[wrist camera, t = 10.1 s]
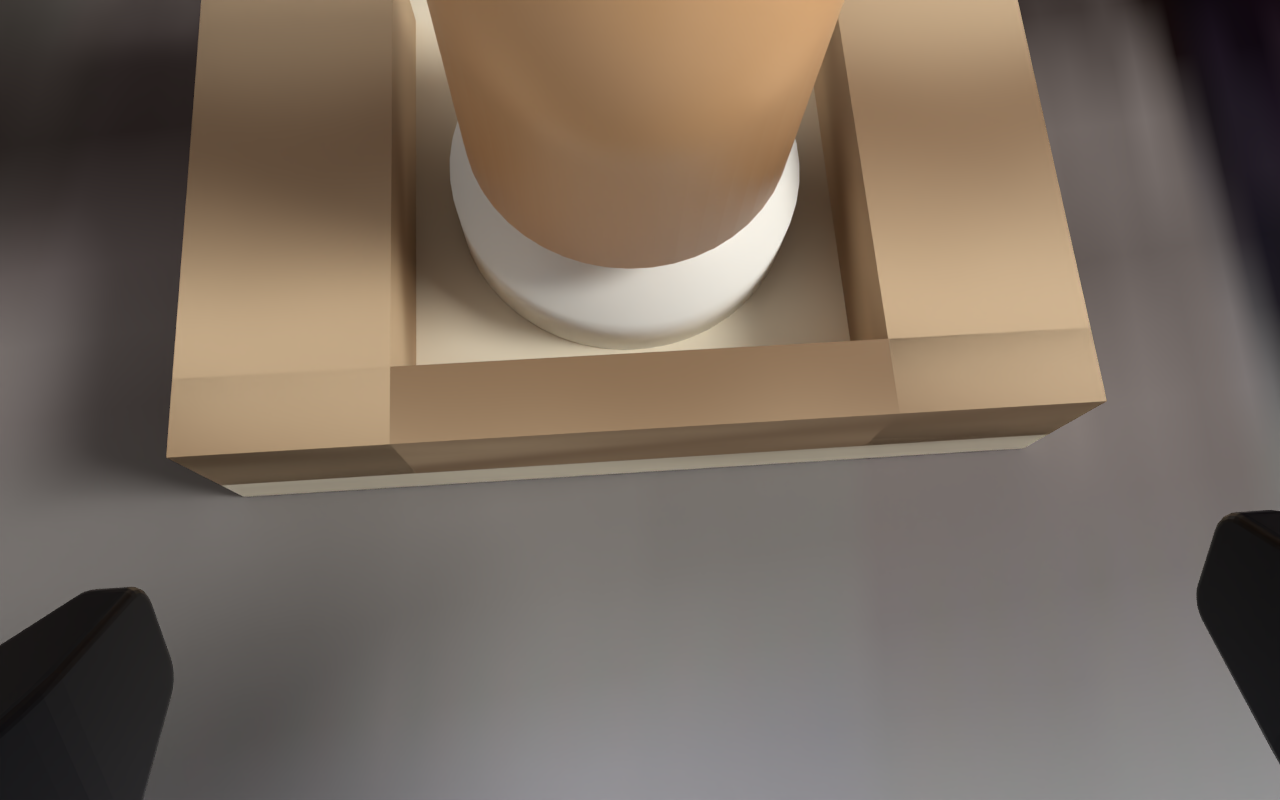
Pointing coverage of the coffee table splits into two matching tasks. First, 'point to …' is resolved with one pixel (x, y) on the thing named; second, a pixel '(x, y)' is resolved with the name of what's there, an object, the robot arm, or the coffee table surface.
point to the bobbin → (628, 154)
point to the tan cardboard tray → (590, 376)
